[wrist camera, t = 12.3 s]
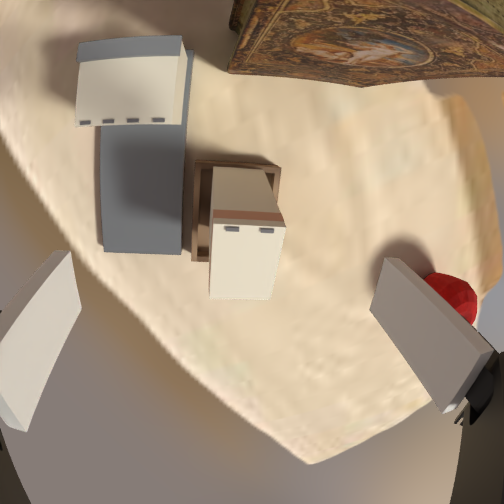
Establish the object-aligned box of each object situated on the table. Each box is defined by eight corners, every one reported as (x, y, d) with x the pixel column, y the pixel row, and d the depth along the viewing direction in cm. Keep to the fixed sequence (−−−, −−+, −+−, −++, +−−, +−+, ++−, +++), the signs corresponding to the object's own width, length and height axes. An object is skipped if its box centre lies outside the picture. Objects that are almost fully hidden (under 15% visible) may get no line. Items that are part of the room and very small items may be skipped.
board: (111, 54, 25) (108, 52, 24) (194, 52, 26) (193, 49, 25) (107, 248, 33) (104, 252, 32) (181, 250, 35) (180, 255, 34)
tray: (196, 159, 31) (195, 162, 29) (277, 165, 32) (281, 168, 31) (192, 253, 35) (191, 261, 33) (266, 256, 36) (269, 263, 35)
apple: (414, 255, 40) (462, 292, 30) (454, 264, 42) (498, 297, 32) (389, 314, 43) (426, 358, 33) (430, 316, 45) (466, 355, 35)
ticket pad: (110, 61, 24) (78, 42, 16) (188, 58, 26) (181, 35, 18) (104, 125, 27) (70, 127, 19) (182, 124, 28) (172, 124, 20)
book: (371, 47, 28) (554, 7, 5) (370, 89, 30) (567, 89, 7) (227, 27, 26) (276, -140, 3) (226, 74, 28) (277, -53, 5)
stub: (213, 166, 29) (213, 224, 21) (263, 169, 30) (286, 228, 21) (209, 227, 34) (209, 300, 25) (254, 229, 34) (270, 301, 25)
